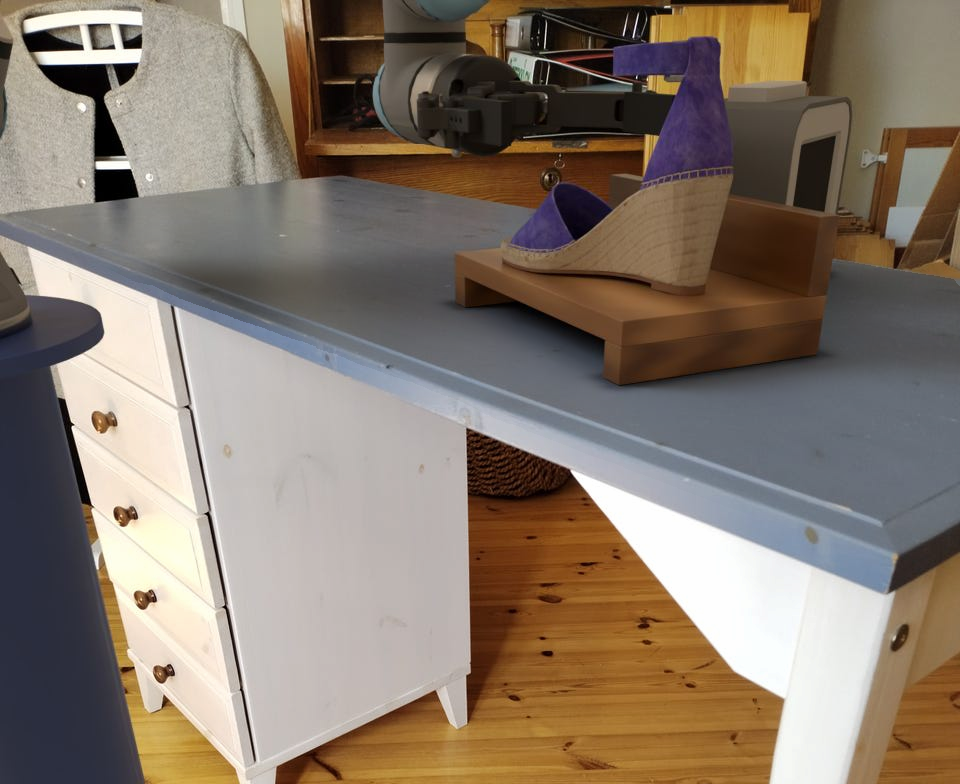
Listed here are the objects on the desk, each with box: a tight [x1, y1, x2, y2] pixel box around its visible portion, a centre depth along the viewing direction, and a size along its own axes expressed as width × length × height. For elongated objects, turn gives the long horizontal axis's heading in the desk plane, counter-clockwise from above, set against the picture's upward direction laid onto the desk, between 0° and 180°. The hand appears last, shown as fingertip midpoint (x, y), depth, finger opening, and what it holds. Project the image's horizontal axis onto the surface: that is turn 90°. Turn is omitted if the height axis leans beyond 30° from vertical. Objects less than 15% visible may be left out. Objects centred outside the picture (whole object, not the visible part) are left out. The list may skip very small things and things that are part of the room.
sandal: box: [500, 35, 733, 296], centre depth 71 cm, size 8×20×15 cm, turn 32°
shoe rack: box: [454, 173, 841, 386], centre depth 75 cm, size 16×26×9 cm, turn 25°
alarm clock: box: [724, 80, 853, 215], centre depth 87 cm, size 16×11×16 cm
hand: (594, 120), depth 71 cm, fingers open, 13 cm apart
